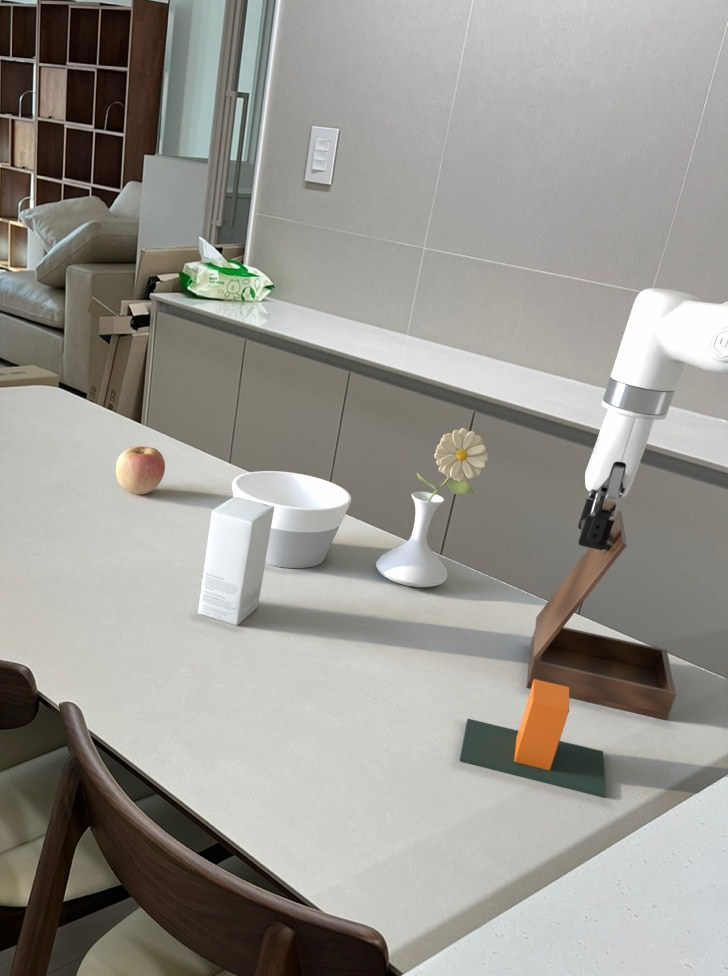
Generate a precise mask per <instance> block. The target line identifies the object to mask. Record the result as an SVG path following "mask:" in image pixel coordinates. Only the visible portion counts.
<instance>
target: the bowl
mask: <svg viewBox="0 0 728 976" xmlns="http://www.w3.org/2000/svg"><path fill="white" fill-rule="evenodd" d="M231 486H232V495H233V497H234V496H237V497H242V498H245V499H249V500H253V501H256V502H260V503H264V504H268V505H272V506H274V513H273V519H272V525H271V531H270V537H269V543H268V549H267V555H266V561H265V565H269V566H273V567H278V568H284V569H306V568H312V567H313V568H314V567H315V566H319V565H320V564H322V563H323V562H324V561H325V558H326V557H327V554H328V552H329V550H330V548H331V546H332V543H333V542H334V540H335V537H336V535H337V532H338V531H339V529H340V527H341V524H342V522H343V520H344V518H345V516H346V513H347V511H348V509H349V507H350V505H351V503H352V496H351V494H350V493H349V492H348V491H347V490H346V489H345V488H343V487H342V486H340V485H338V484H335V483H333V482H331V481H328V480H326V479H324V478H319V477H315V476H313V475H308V474H303V473H296V472H290V471H289V472H288V471H275V470H263V471H261V470H260V471H250V472H247V473H243V474H240V475H237V476H236V477H235V478H234V479H233V481H232V483H231Z"/></svg>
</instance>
